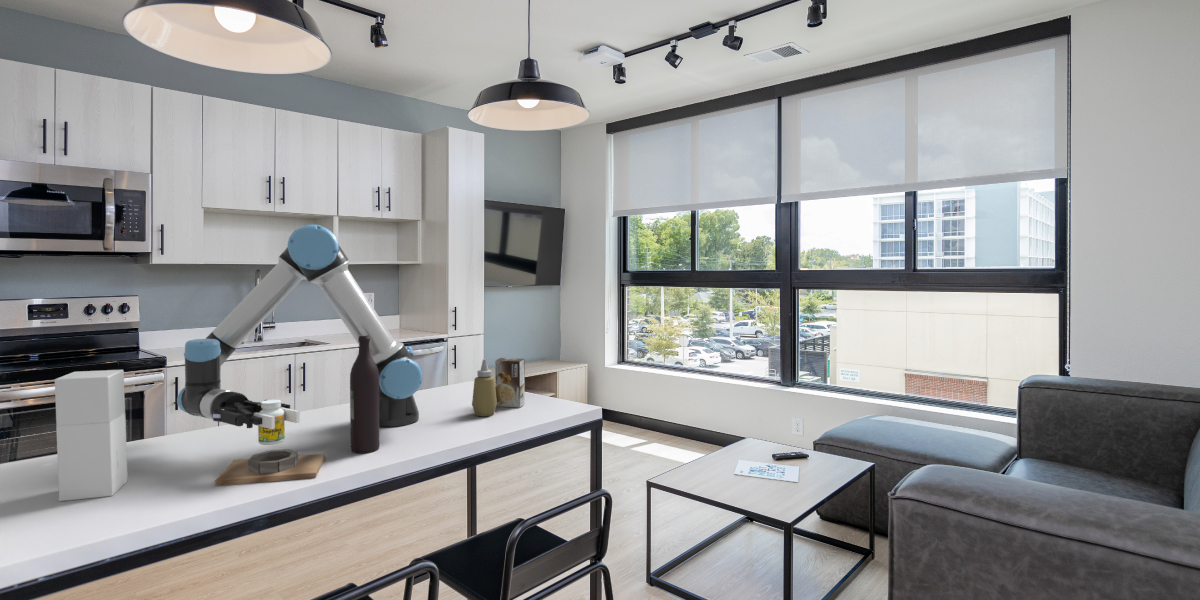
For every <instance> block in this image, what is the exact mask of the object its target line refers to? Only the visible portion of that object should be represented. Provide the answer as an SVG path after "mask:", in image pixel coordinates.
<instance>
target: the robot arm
mask: <svg viewBox="0 0 1200 600" xmlns="http://www.w3.org/2000/svg"><path fill="white" fill-rule="evenodd" d="M349 263H350V260H349V258H348V256H347V255H346V254H345V252H344V250H343V249H342V247H341V246H340V244H339V242H338V238H337V237H336V236H335V234H334V233H333V232H332V230H330V229H329V228H327V227H325V226H323V225H320V224H315V223H309V224H304V225H302V226H299V227H298V228H296V229H295V230H294V231H293V232H292V233H291V235H290V236H289V237H288V241H287V247H286V248H285V249H284V250H283V252H281V254H280V255H278V262H277V264H276V265H275V266H274V267H273V268H272V269H271V270H269V272H268V273H267V274H266V275H265V276H264V277H263V278H262V279H261V280H260V281H259V282H258V283H257V285H256V286H254V288H253V289H251V291H250V292H249V293H248V294H247V295H246V296H245V297H244V298H243V299H242V300H241V301H240V302H239V303H238V304H237V305H236V306H235V307H234V309H232V311H230V312H229V313H228V315H226V317H225V318H224V319H223V320H222V321H220V323H219V324H218V325H217V326H216V327H215V328H214V329H213V330H212V331H211V333H209V335H207V337H205V338H197V339H196V338H195V339H190V340H187V341H186V342H185V344H184V352H183V357H184V375H185V376H184V377H185V382H184V383H185V384H184V387H183V388H182V389H181V390H180V391H179V393H178V395H177V398H176V404H177V406H178V407H179V409H180V410H181V411H183V413H187V414H189V415H191V416H195V417H200V418H205V419H210V420H212V421H213V422H216V423H225V424H228V425H231V426H235V427H240V428H241V427H242V426H244V424H245V426H246V429H253V427H254V426H257V427H258V426H261V427H265V428H269V429H274V428H275V416H270V415H266V414H261V413H259V412H260V411H261V410H263V409H262V408H261V402H260V401H259V402H257V401H253V400H249V398H247V396H246V395H245V394H243V393H240V392H237V391H231V390H227V389H222V388H221V381H222V380H221V367H222V366H223V364H224V363H225V362H226V361H227V360H228V359H229V357H230V356H232V355H233V353H234V352H235V351H236V350H237V349H238V348H239V347H240V346H241V345H242V344H243V342H244V341H245V340H246V339H247V338H248V337H249V336H250V335H251V334H252V333H253V332H254V331H255V330H256V328H258V327H259V326H260V324H262V322H263V321H264V320H266V318H267V317H268V316H269V315H270V314H271V313H272V312H273V311H274V310H275V308H277V307H278V305H280V304H281V302H282V301H284V299H285V298H287V296H288V295H289V294H290V293H291V292H292V291H293V290H294V289H295V288H296V287H297V285H299V284H300V282H301V281H302V280H304V281H305V280H307V281H308V283H309V284H314V285H317V286H319V288H320V289H321V291H322V293H323V294H324V296H325V297H326V298H327V300H328V301H329V303H330V304H331V306H332V308H333V309H334V310H335V312H336V313H337V316H338V317H339V318H340V319H341V321H342V322H343V323H344V325H345V326H346V328H347V329H348V332H350V334H351V335H352V337H353V339H354V340H355V341H356V343H357V344H358V345H359V342H358V338H359V336H361V335H369V337H370V342H369V349H370V354H371V356H372V358H373V360H374V362H375V364H376V366H377V368H378V372H379V427H382V428H383V427H385V428H387V427H388V428H389V427H401V426H407V425H409V424H414V423H417V421H419V419H420V412H419V408H418V406H417V403H416V401H415V396H414V394H415V393H417V392H418V390H419V389H420V387H421V386H422V384H423V383H422V382H423V372H422V367H420V364H419V363H417V362H416V361H415V359H414V351H413V350H414V349H413V347H411V346H405V344H404V343H403V342H402V341H401V342H400V341H396V340H395V338H394V337H393V336H392V334H391V333H390V331H389V330H388V328H387V327H386V326H385V324H384V322H383V320H382V319H381V317H380V316H379V315H378V313H377V311H376V310H375V308H374V307H373V305H372V304H371V302H370V301H369V299H368V297H366V295H365V293H364V291H363V290H362V289H361V287H360V285H359V284H358V282H357V281H356V279H355V277H353V275H352V273H351V272H350V271H349V268H348V267H349ZM266 400H267V399H264V400H263V401H266ZM280 409H282V410H283V411H284V422H285V421H287V422H290V423H294V424H298V423H300V410H297V409H292V408H291V404H289V403H288V404H287V403H282V402H281V407H280Z"/></svg>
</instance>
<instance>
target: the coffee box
mask: <svg viewBox="0 0 1200 600" xmlns="http://www.w3.org/2000/svg"><path fill="white" fill-rule="evenodd" d="M525 360H526V359H525V358H517V357H516V358H513V357H512V358H511V357H500V358H498V359H496V360H495V361H494V362H495V366H494V367H495V369H494V370H495V372H494V373H495V377H494V378H495V388H496V399H497V405H496V407H503V408H505V407H506V408H508V407H509V408H521V407H523V406H524V405H525V404H526V403H525V401H526V399H525V397H526V396H525V394H526V393H525V392H526V391H525V389H526V388H525V386H526V385H525V382H526V381H525V377H526V376H525V374H526V373H525V369H526V368H525Z"/></svg>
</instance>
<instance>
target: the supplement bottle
mask: <svg viewBox="0 0 1200 600" xmlns="http://www.w3.org/2000/svg"><path fill="white" fill-rule="evenodd" d="M265 400H266V401H264V400H263V401H261V402H260V403H261V408H262V409H263V410H261V411H260V412H259V413H261V414H266V415H270V416H275V428H274V429H269V428H265V427H261V426H257V427H258V428H257V429H258V432H257V433H258V435H257V436H258V444H259V445H263V446H271V445H272V446H273V445H278V444H281V443H283V442H284V441H285V438H286V436H285V435H286V433H285V429H286V427H285V420H284V411H283V410H282V409H280V407H281V403H282V401H281V400H280V399H265Z"/></svg>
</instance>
